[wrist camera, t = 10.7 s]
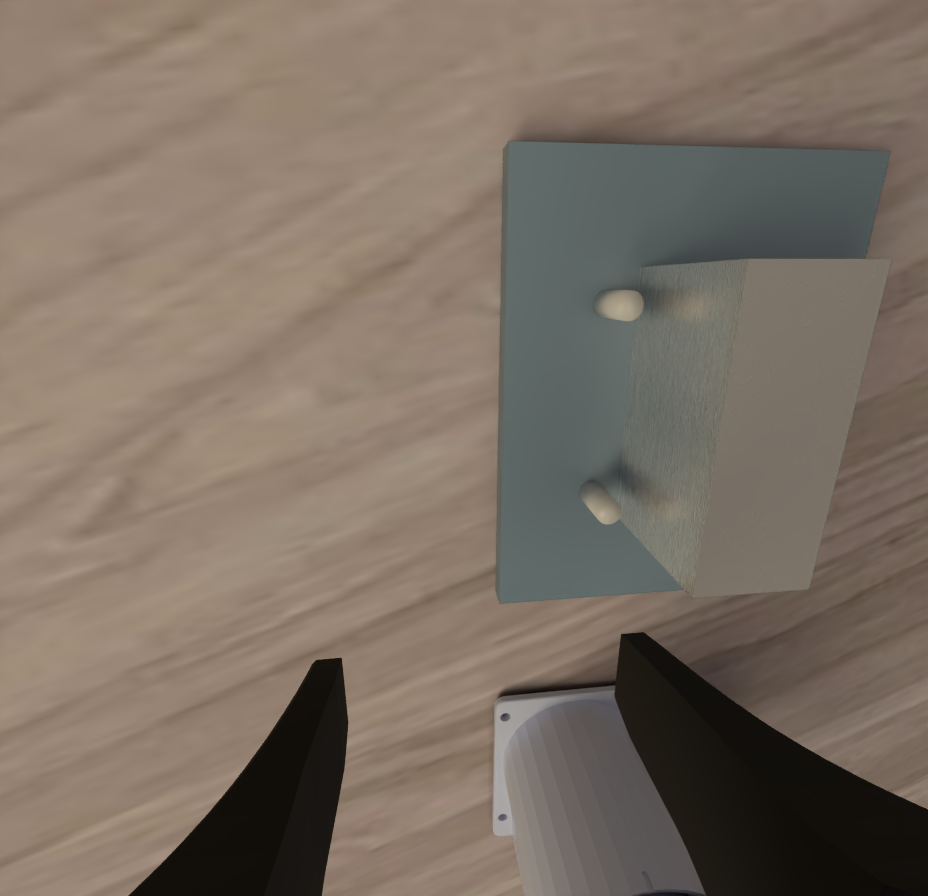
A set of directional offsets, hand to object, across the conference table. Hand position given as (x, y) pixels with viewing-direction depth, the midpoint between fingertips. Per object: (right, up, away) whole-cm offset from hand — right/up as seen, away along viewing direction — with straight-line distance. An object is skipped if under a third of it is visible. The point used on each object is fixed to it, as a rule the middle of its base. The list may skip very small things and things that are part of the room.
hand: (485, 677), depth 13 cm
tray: (+8, +8, +8) cm, 14 cm away
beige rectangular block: (+8, +8, +7) cm, 13 cm away
